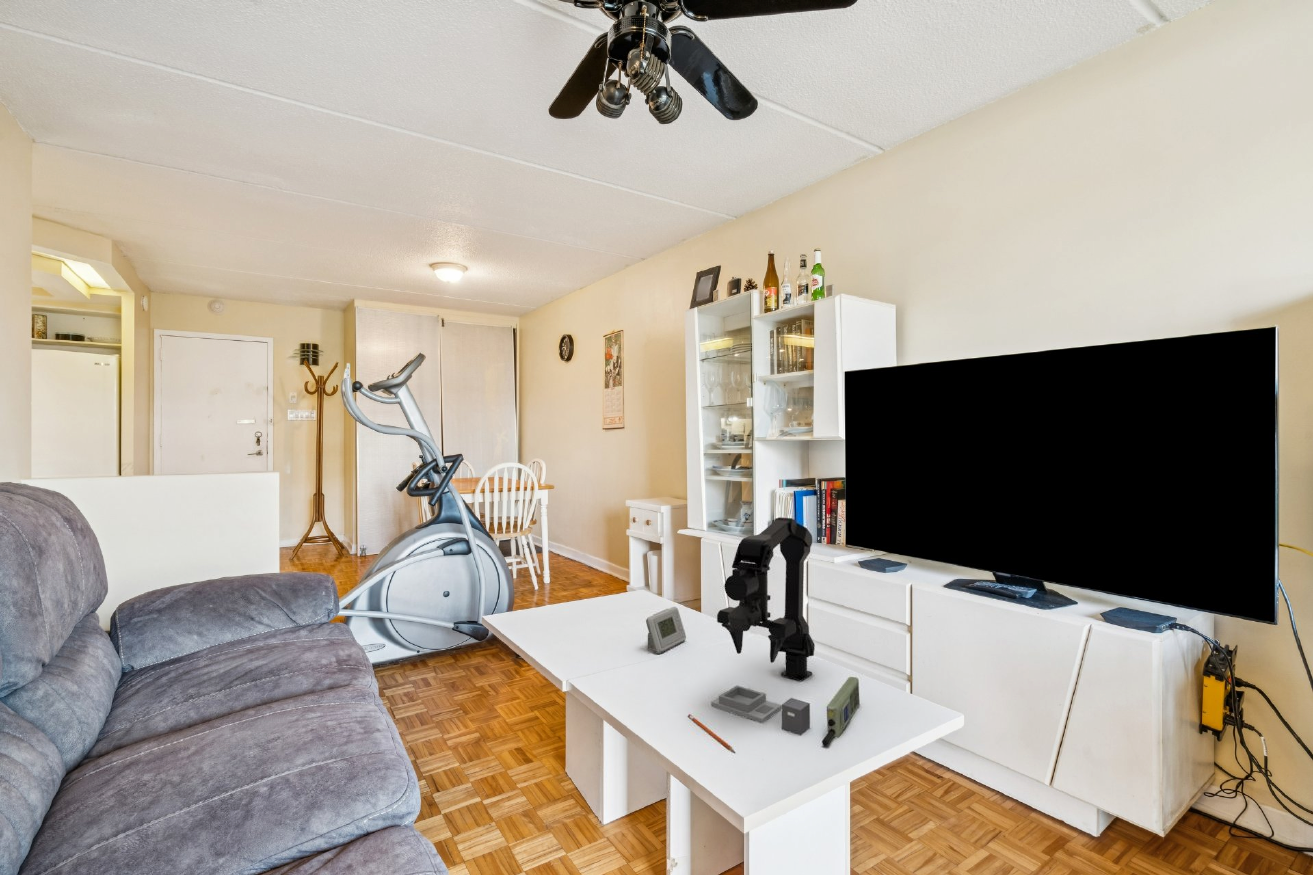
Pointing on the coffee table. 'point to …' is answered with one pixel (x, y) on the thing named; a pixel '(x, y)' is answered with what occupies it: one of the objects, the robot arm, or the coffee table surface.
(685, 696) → the coffee table surface
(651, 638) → the digital clock
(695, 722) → the pencil
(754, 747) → the coffee table surface
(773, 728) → the coffee table surface
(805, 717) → the block
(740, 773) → the coffee table surface
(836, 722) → the handheld radio
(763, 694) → the grey charging dock
